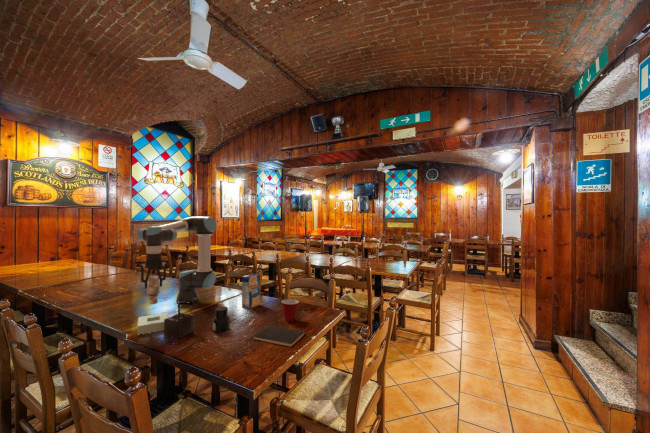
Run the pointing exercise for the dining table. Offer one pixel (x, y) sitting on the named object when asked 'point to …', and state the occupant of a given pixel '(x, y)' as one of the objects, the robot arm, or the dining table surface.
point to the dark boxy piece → (180, 322)
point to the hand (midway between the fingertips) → (153, 292)
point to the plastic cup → (290, 309)
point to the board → (151, 323)
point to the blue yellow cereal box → (250, 290)
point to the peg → (153, 289)
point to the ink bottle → (221, 320)
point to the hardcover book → (279, 335)
